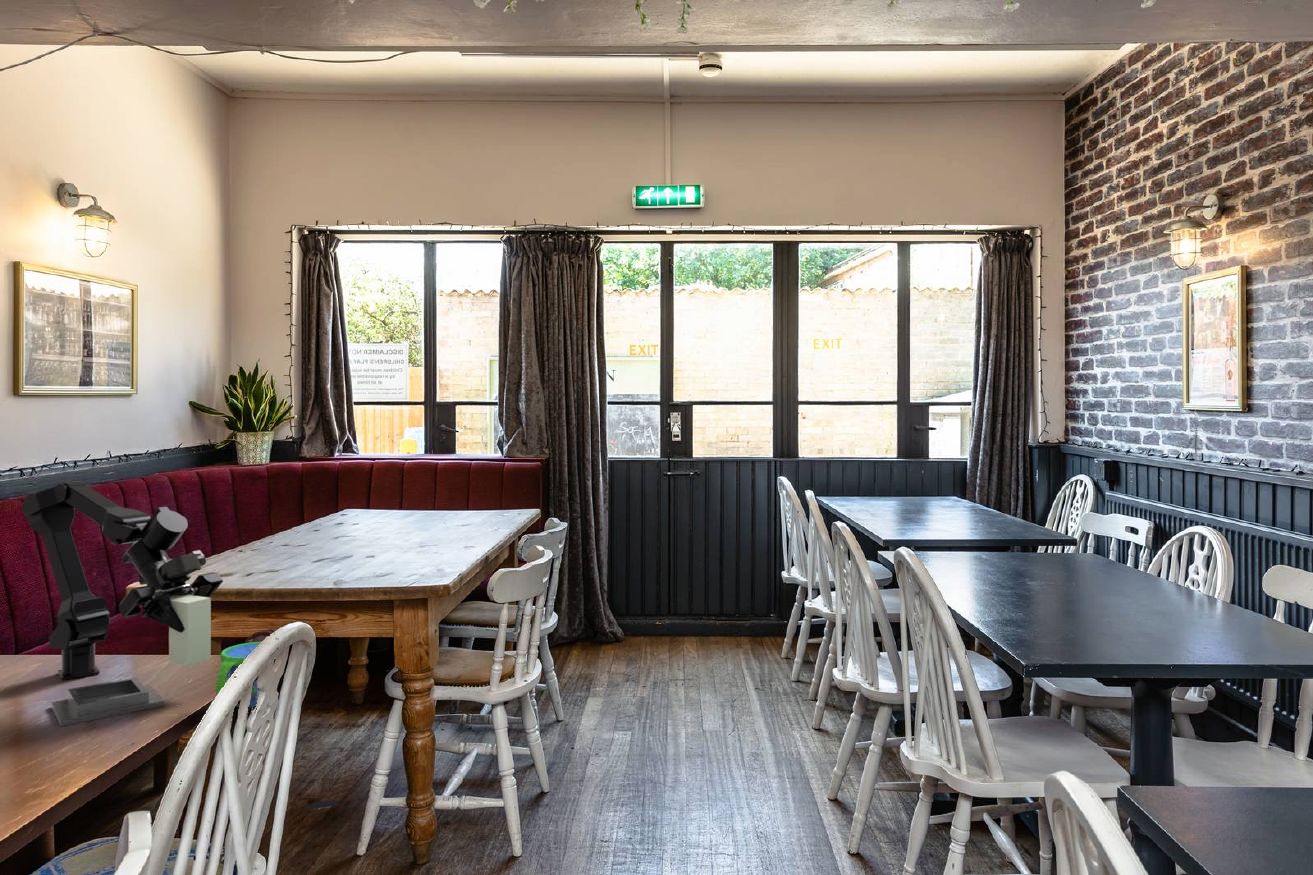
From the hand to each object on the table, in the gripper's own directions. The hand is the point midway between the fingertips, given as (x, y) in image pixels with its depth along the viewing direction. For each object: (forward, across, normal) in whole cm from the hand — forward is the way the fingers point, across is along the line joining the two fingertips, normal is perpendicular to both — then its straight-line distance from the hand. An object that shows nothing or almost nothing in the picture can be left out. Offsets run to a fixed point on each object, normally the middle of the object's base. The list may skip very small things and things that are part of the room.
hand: (195, 627), depth 163 cm
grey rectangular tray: (+3, -10, +16) cm, 20 cm away
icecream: (+5, +23, +15) cm, 27 cm away
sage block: (+4, 0, +6) cm, 7 cm away
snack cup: (+18, +2, +1) cm, 18 cm away
